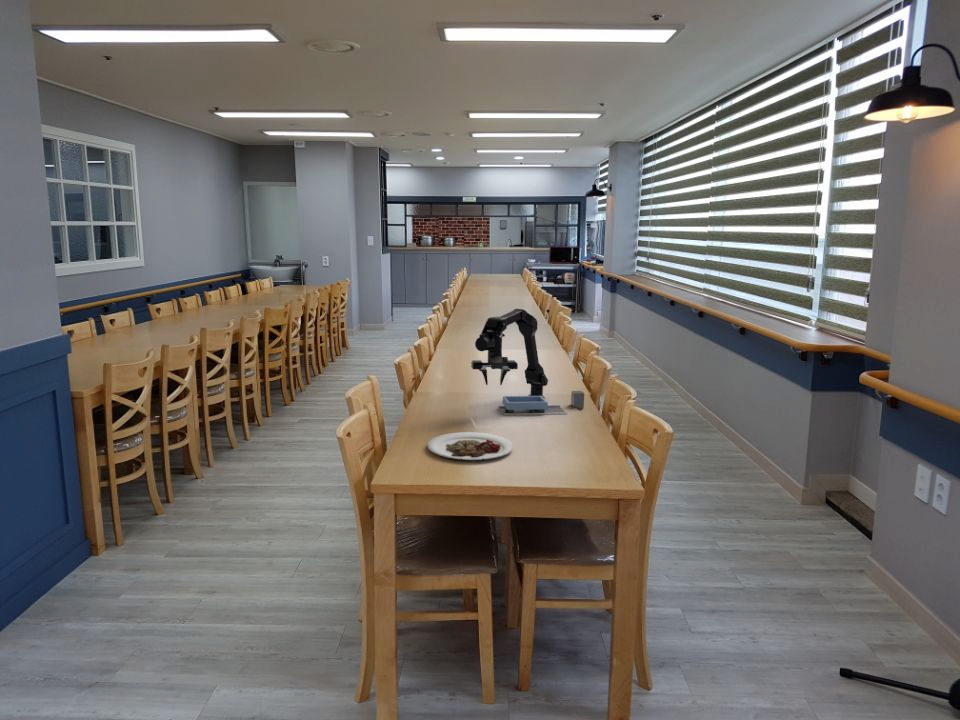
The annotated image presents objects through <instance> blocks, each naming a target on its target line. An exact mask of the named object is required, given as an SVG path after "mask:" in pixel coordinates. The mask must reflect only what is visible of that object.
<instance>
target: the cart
mask: <svg viewBox="0 0 960 720" xmlns="http://www.w3.org/2000/svg"><path fill="white" fill-rule="evenodd" d="M502 404H503V406H505V407H506V409H507V410H509V412H510V413H514V410H528V409H540V410H539V411H540V412H541V413H544V412H545V410H544V409H547V406H548V401H547V400H546V398H543V397H542V396H528V395H504V396H502Z"/></svg>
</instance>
